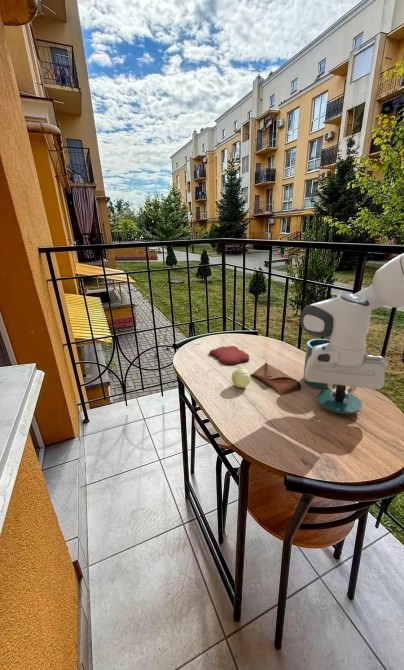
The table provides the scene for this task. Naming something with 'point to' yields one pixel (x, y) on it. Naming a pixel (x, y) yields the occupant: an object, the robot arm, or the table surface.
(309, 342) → the tin
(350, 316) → the robot arm
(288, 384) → the sunglasses case
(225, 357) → the red cloth
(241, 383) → the tennis ball
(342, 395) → the lid
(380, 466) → the table surface
